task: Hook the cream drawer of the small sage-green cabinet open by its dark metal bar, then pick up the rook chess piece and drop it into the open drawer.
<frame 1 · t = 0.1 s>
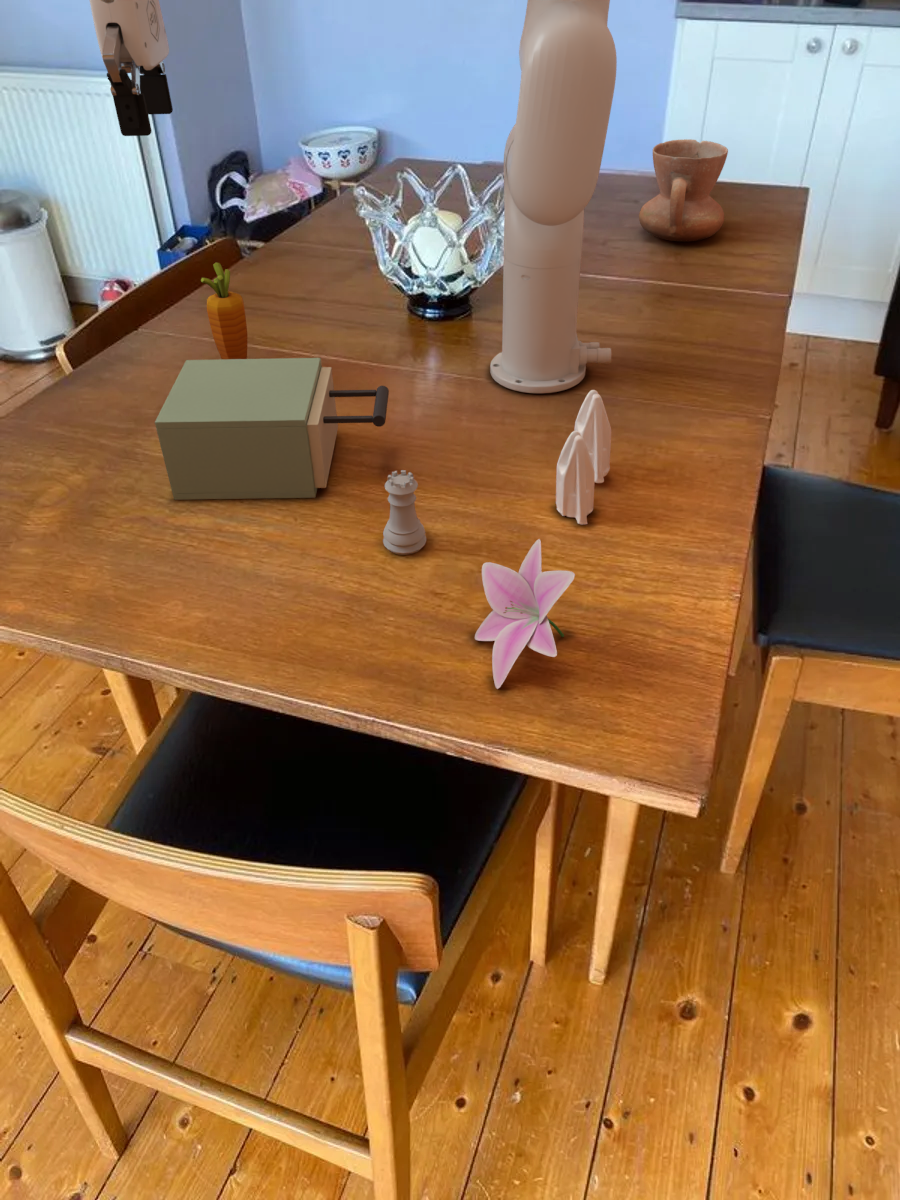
hand: (148, 123, 105), 31 cm above the table, tool pointing down, fingers open, 9 cm apart
cabinet: (255, 463, 108), on the table
rook chess piece: (405, 545, 96), on the table
shaker set: (582, 494, 102), on the table
ceramic jug: (678, 237, 164), on the table
carrot: (238, 379, 125), on the table
lily: (520, 650, 83), on the table
drawer: (294, 426, 105), point 5 cm above the table, slide at 0.0 cm
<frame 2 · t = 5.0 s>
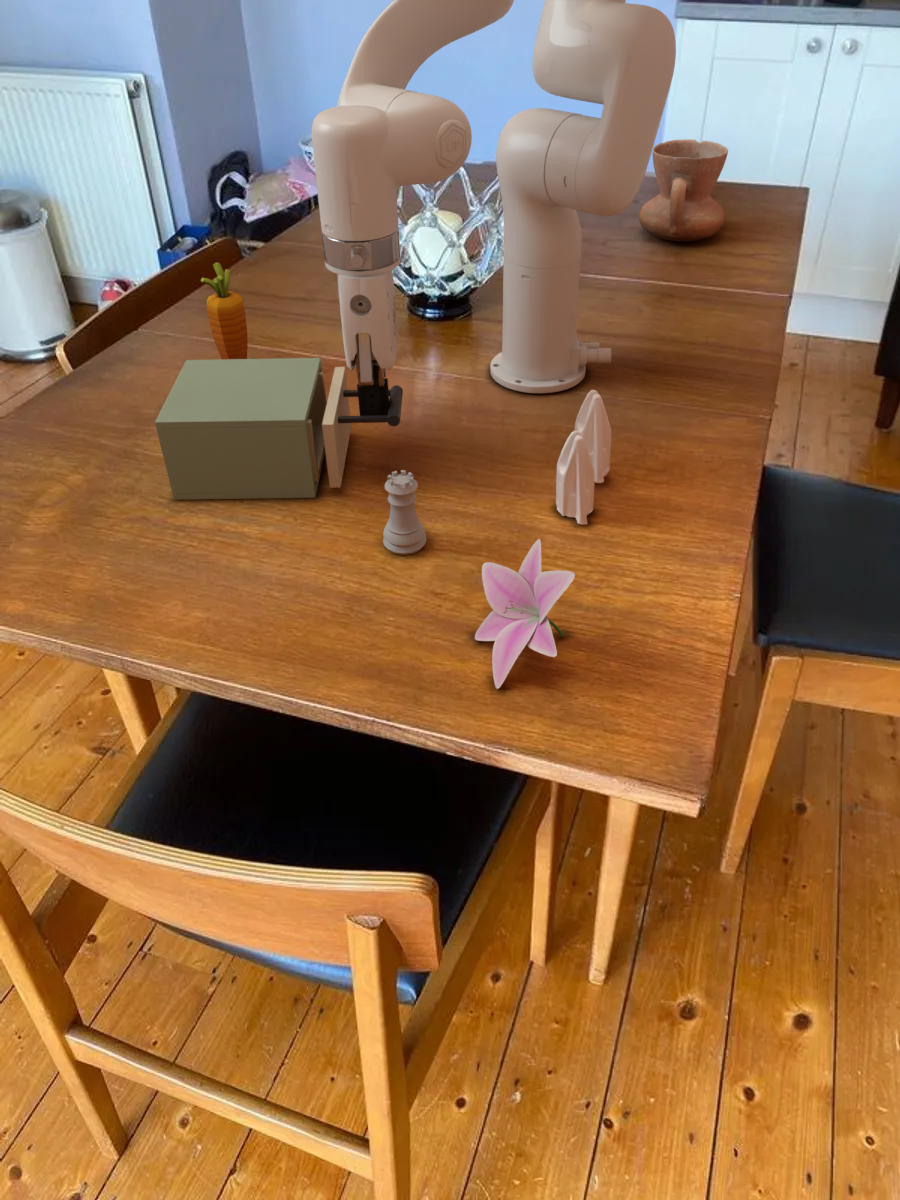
hand: (375, 414, 104), 6 cm above the table, tool pointing down, fingers closed
drawer: (308, 426, 105), point 5 cm above the table, slide at 1.6 cm, touching gripper
everything else where it was.
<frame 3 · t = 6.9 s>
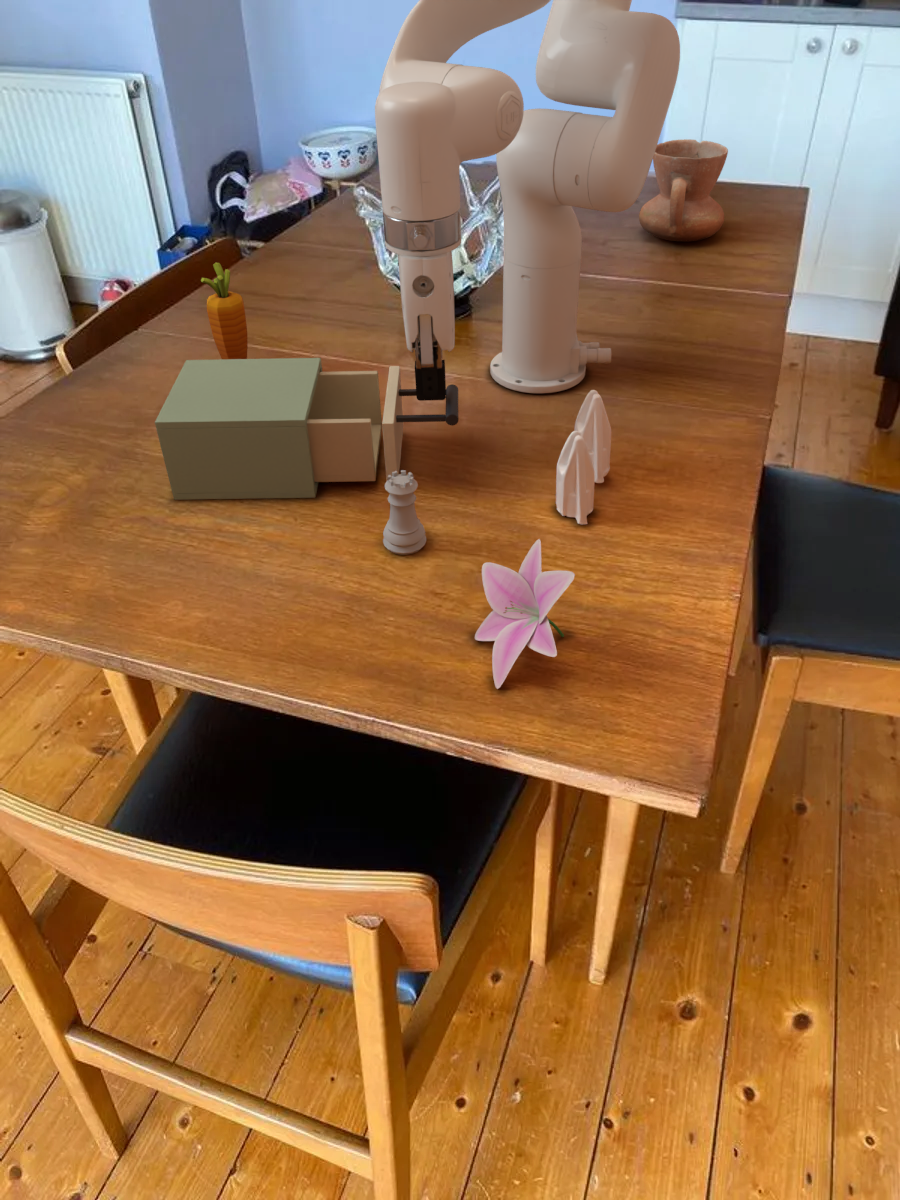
hand: (431, 396, 103), 8 cm above the table, tool pointing down, fingers closed
drawer: (364, 425, 105), point 5 cm above the table, slide at 7.9 cm
everything else where it was.
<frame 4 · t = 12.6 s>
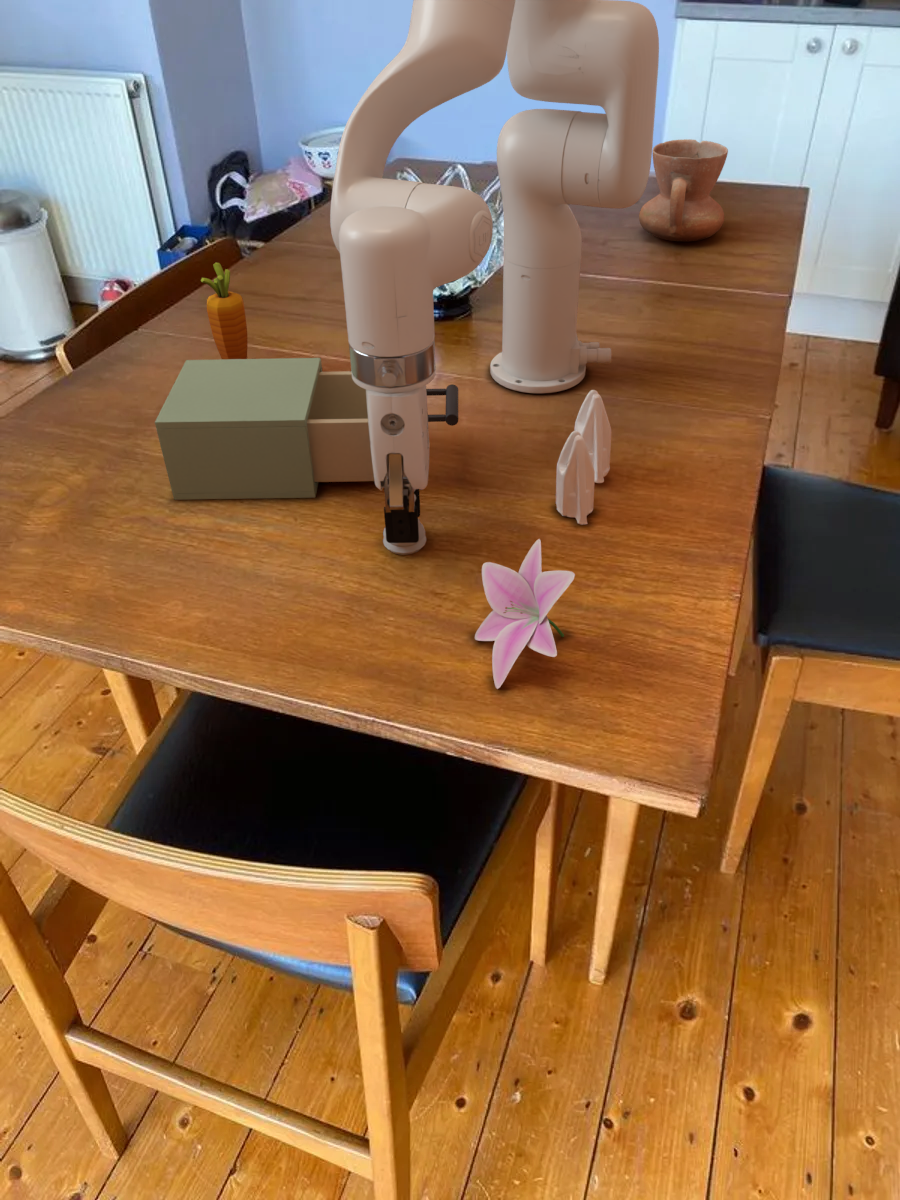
hand: (403, 527, 94), 2 cm above the table, tool pointing down, fingers closed on rook chess piece, 3 cm apart
rook chess piece: (405, 545, 96), on the table, touching gripper
everything else where it was.
when the fingers open (6 cm above the table, at t = 20.9 s): rook chess piece stays where it is, resting on drawer.
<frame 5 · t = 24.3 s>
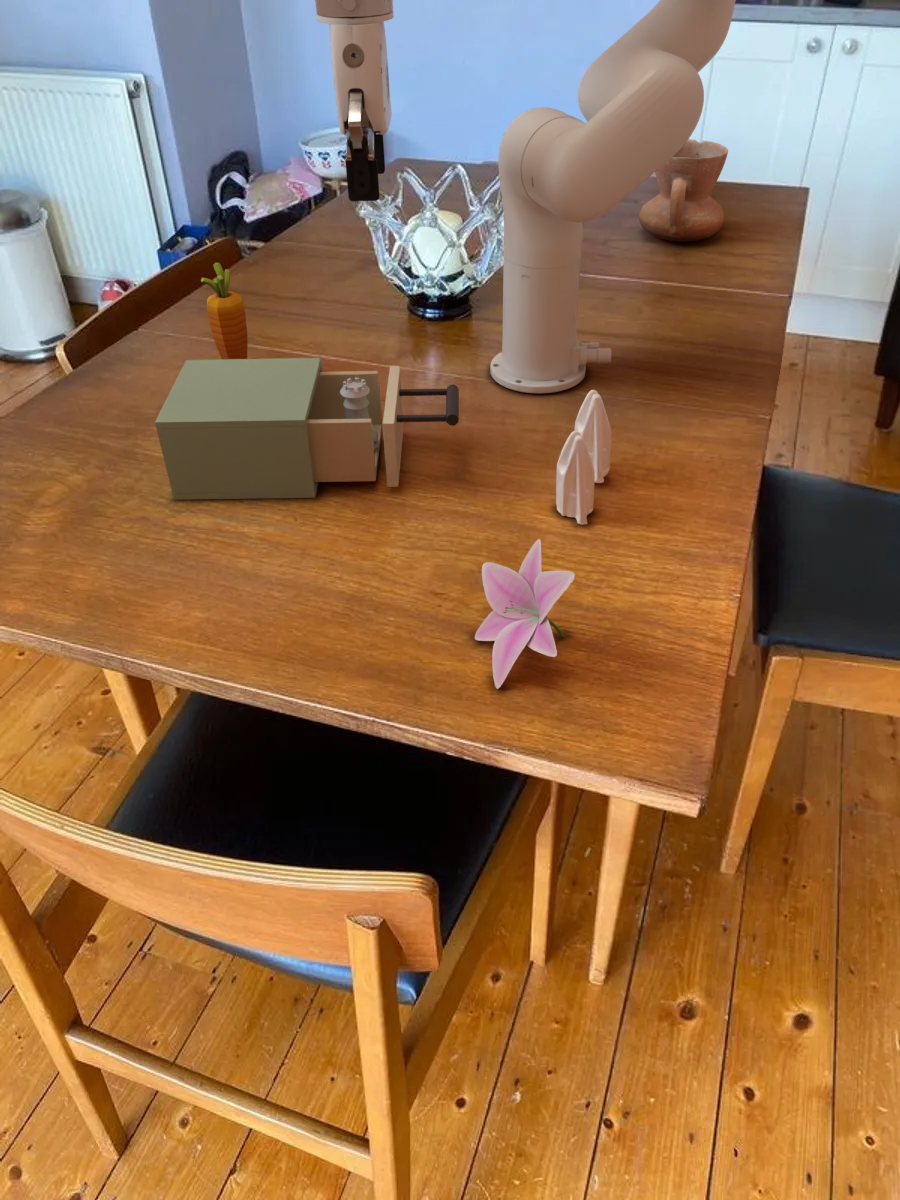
hand: (367, 186, 102), 26 cm above the table, tool pointing down, fingers open, 9 cm apart
rook chess piece: (360, 448, 107), point 2 cm above the table, touching drawer
drawer: (364, 425, 105), point 5 cm above the table, slide at 7.9 cm, touching rook chess piece
everything else where it was.
at the end: drawer slide at 7.9 cm; rook chess piece inside the target area in the drawer (1.1 cm from its centre), point 1.8 cm above the cabinet's base; the gripper is holding nothing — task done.
